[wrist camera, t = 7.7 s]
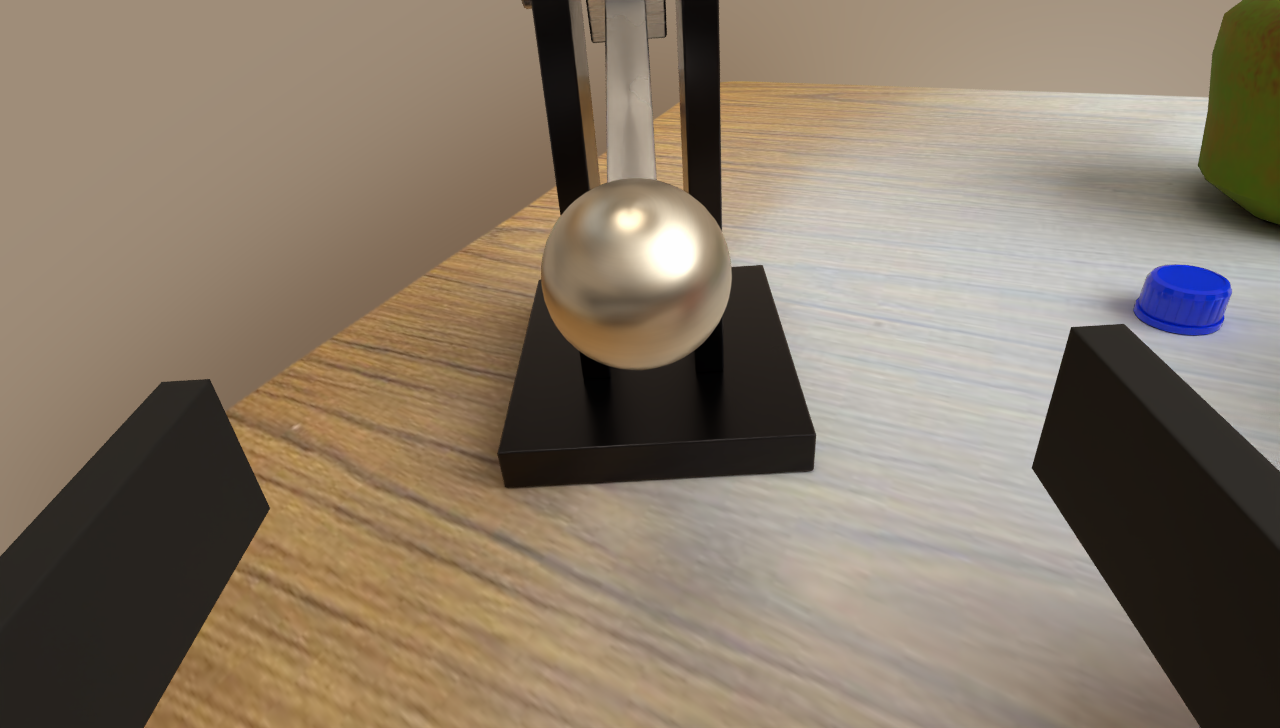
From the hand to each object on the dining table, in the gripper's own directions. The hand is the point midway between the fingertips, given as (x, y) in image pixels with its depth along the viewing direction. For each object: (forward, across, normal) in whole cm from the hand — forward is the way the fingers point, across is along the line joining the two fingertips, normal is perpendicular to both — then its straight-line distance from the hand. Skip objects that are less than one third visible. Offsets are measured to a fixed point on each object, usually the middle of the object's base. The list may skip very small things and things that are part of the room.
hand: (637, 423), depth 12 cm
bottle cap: (+17, +21, -9) cm, 28 cm away
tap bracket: (+15, 0, -9) cm, 17 cm away
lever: (+10, 0, +1) cm, 10 cm away
